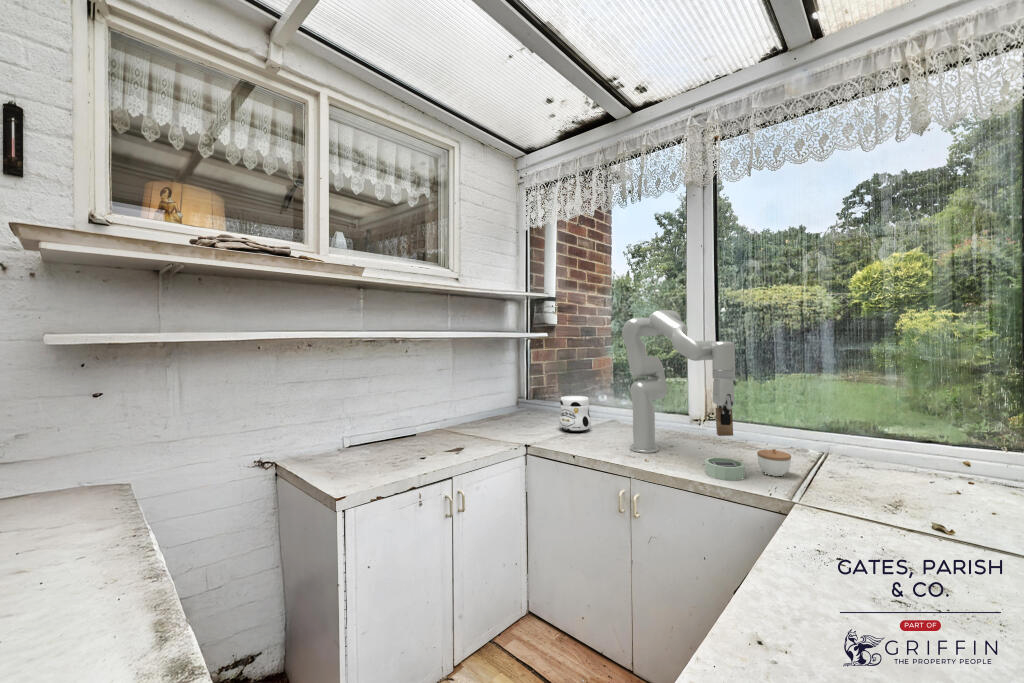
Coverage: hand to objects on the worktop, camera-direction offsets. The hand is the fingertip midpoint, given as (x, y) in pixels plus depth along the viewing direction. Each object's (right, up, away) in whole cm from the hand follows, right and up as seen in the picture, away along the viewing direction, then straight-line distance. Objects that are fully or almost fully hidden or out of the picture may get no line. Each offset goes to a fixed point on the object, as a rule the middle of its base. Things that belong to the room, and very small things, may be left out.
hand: (724, 423), depth 159 cm
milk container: (-44, -19, +76) cm, 90 cm away
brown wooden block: (0, -4, 0) cm, 4 cm away
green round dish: (0, -19, 0) cm, 19 cm away
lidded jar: (+18, -19, 0) cm, 27 cm away
